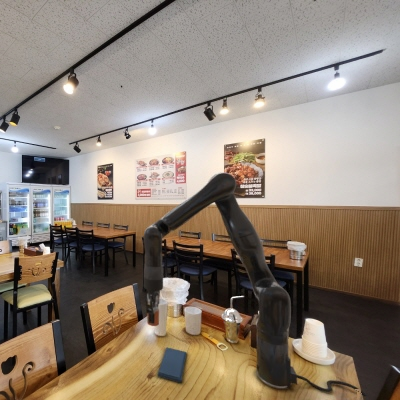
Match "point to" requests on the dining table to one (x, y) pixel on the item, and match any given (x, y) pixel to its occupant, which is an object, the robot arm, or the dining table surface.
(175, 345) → the dining table surface
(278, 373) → the robot arm
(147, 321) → the pill bottle
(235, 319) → the cup with straw
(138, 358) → the dining table surface
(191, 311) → the white cup
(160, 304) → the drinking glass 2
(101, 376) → the dining table surface
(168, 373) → the blue flat rectangular block
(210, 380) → the dining table surface
